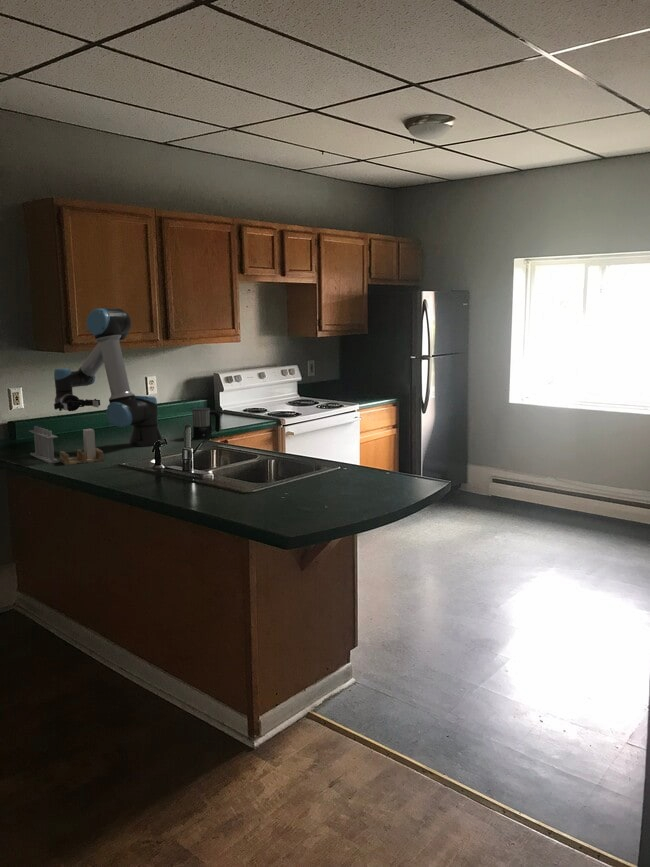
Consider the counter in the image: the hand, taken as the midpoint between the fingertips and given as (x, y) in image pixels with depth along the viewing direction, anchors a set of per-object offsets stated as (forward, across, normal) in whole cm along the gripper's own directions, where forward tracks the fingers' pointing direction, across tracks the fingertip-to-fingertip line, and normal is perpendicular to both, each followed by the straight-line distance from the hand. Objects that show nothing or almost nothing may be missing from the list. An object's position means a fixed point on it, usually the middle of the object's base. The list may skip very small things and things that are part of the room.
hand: (82, 405), depth 318 cm
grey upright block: (+16, +3, -21) cm, 27 cm away
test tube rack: (+1, +18, -21) cm, 28 cm away
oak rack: (+16, +6, -22) cm, 28 cm away
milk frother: (-12, -61, -22) cm, 67 cm away
